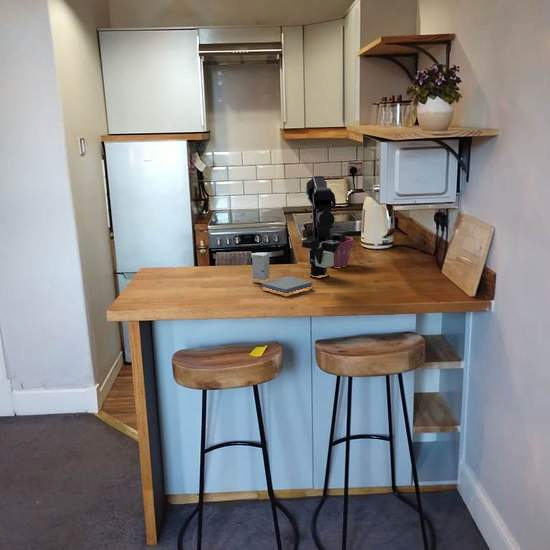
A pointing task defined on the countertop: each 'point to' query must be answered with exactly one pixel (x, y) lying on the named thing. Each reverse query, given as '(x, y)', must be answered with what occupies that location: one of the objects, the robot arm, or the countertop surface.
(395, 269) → the countertop surface
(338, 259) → the plant pot
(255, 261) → the skincare box
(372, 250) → the countertop surface
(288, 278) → the base
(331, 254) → the green cube
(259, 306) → the countertop surface
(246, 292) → the countertop surface
